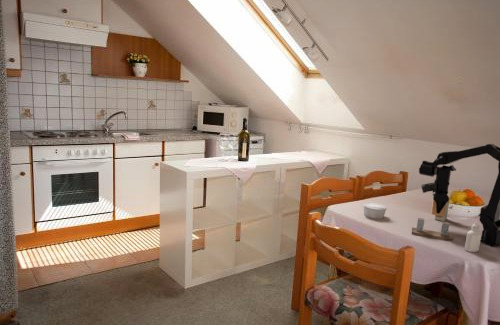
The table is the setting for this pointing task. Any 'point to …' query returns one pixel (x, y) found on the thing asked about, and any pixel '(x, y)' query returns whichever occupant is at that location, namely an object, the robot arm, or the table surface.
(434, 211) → the orange block
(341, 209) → the table surface
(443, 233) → the near post
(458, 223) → the table surface
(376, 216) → the ramekin
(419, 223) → the far post
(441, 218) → the skincare box
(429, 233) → the board
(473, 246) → the eye dropper bottle
